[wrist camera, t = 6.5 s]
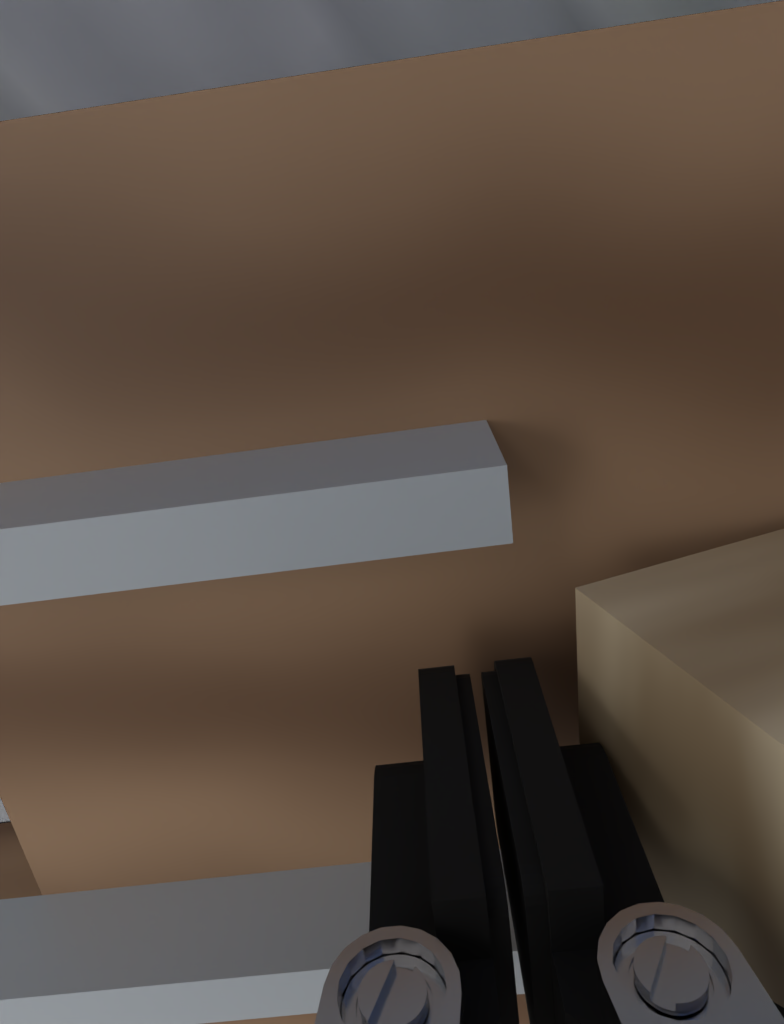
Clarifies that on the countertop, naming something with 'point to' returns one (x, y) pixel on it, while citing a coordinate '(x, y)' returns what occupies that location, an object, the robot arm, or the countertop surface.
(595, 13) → the countertop surface
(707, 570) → the block
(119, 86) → the countertop surface
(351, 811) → the deck
